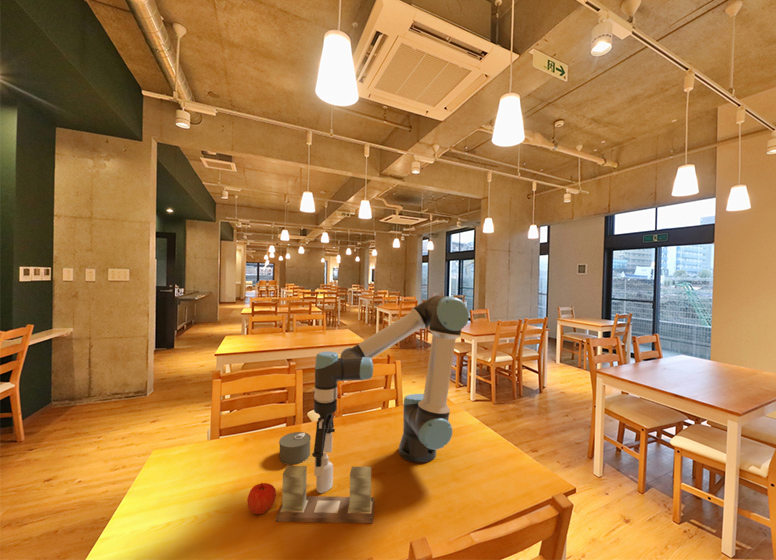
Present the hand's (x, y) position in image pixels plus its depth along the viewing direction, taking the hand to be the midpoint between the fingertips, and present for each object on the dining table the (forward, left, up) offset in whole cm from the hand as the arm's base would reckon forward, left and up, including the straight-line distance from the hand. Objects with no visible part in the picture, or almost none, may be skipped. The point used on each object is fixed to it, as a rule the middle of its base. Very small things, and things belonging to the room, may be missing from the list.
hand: (323, 462), depth 103 cm
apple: (+17, +10, -9) cm, 21 cm away
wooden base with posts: (-3, +10, -9) cm, 14 cm away
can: (+16, -19, -9) cm, 26 cm away
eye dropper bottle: (0, 0, -9) cm, 9 cm away
